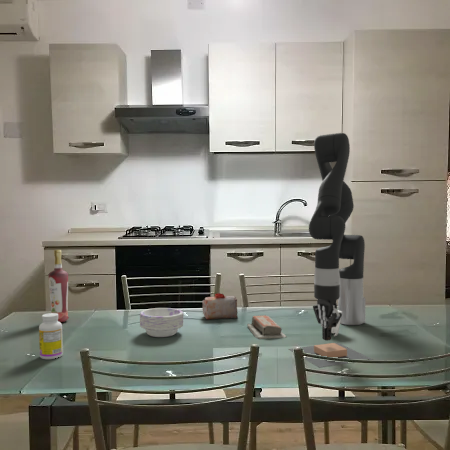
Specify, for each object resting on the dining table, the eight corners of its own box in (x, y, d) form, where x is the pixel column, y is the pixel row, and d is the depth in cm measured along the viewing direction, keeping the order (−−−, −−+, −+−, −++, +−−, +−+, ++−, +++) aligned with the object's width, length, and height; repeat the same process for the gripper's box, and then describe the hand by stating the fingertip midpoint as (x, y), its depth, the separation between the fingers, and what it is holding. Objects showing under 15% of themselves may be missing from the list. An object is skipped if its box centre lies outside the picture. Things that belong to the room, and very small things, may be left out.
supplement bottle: (43, 353, 153) (42, 312, 153) (65, 352, 154) (64, 311, 153) (37, 360, 147) (35, 317, 146) (59, 359, 147) (58, 317, 146)
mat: (338, 344, 160) (338, 342, 160) (373, 361, 143) (373, 359, 143) (288, 350, 154) (288, 349, 154) (319, 369, 137) (319, 367, 137)
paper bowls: (191, 330, 178) (191, 309, 178) (169, 342, 164) (168, 318, 164) (155, 326, 184) (155, 305, 184) (131, 337, 171) (130, 314, 170)
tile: (333, 342, 152) (347, 349, 146) (333, 349, 152) (347, 356, 146) (314, 345, 150) (326, 352, 143) (313, 352, 150) (326, 359, 144)
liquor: (73, 320, 194) (71, 249, 192) (58, 325, 188) (56, 251, 186) (61, 318, 198) (59, 248, 196) (45, 322, 192) (43, 250, 190)
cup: (338, 331, 175) (338, 308, 175) (348, 339, 165) (348, 315, 165) (319, 332, 175) (319, 309, 174) (327, 340, 165) (327, 316, 164)
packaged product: (246, 315, 183) (272, 313, 184) (246, 328, 183) (272, 326, 185) (258, 327, 165) (286, 325, 167) (258, 341, 165) (286, 340, 167)
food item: (203, 320, 193) (203, 295, 192) (202, 315, 201) (201, 291, 200) (238, 319, 195) (238, 294, 194) (235, 314, 203) (235, 290, 202)
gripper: (350, 285, 143) (350, 344, 144) (325, 278, 156) (325, 333, 157) (328, 287, 141) (327, 347, 142) (304, 280, 153) (304, 335, 154)
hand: (326, 339), depth 149 cm, fingers closed
